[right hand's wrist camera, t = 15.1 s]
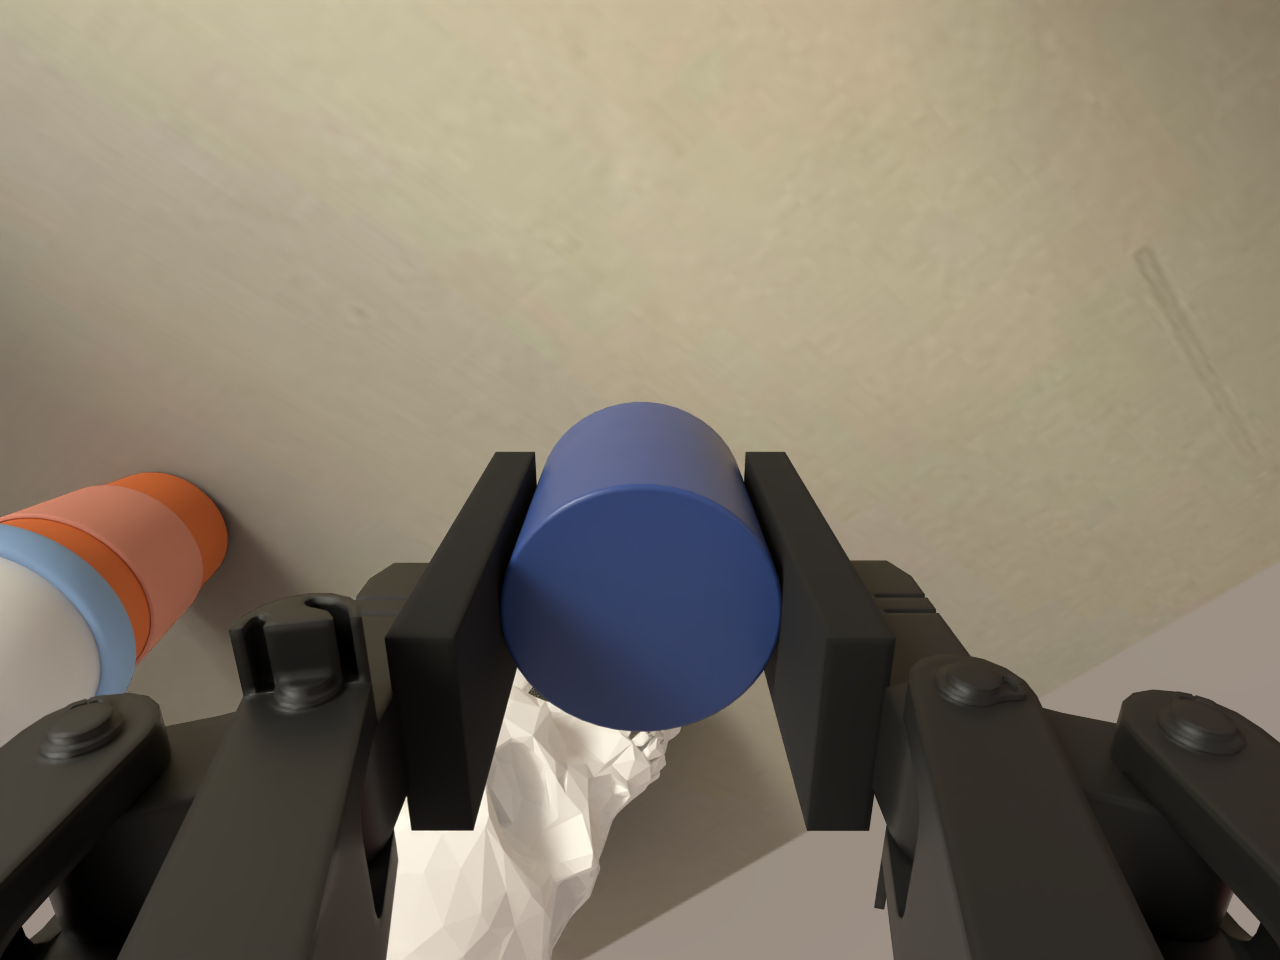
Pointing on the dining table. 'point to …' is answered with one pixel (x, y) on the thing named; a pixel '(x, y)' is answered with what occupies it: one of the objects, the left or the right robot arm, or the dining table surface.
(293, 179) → the dining table surface
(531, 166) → the dining table surface
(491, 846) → the skull
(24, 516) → the cup with straw
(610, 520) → the canister
